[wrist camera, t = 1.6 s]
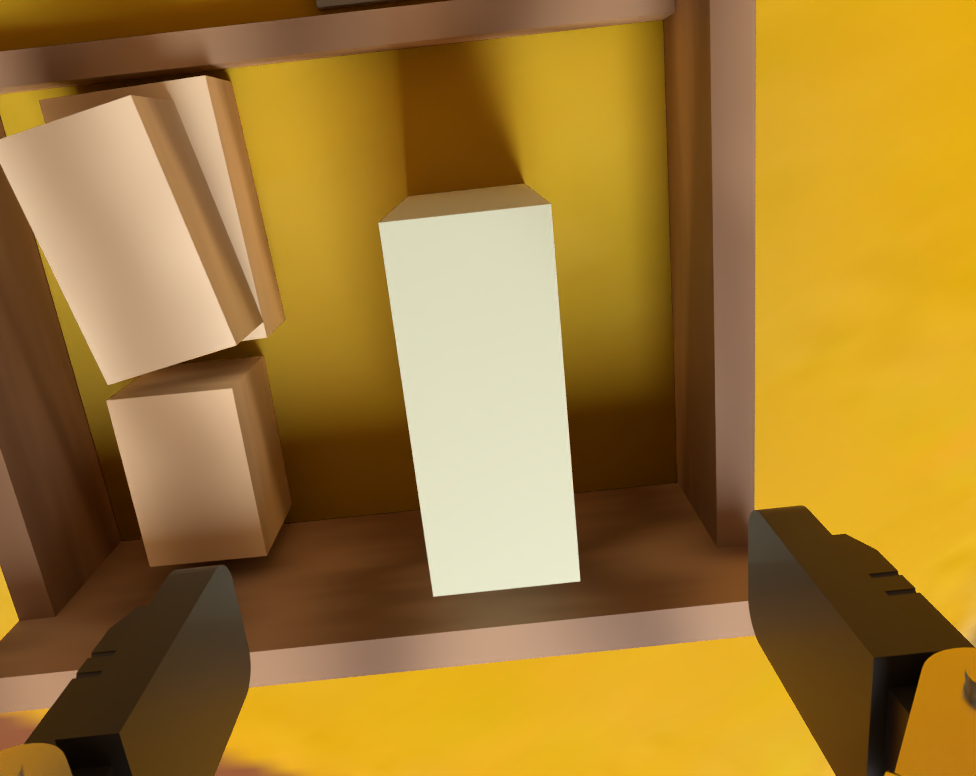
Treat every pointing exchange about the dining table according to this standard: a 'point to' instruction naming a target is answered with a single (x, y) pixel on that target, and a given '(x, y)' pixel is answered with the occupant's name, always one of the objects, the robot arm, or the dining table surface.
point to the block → (484, 385)
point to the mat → (346, 3)
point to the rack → (399, 535)
